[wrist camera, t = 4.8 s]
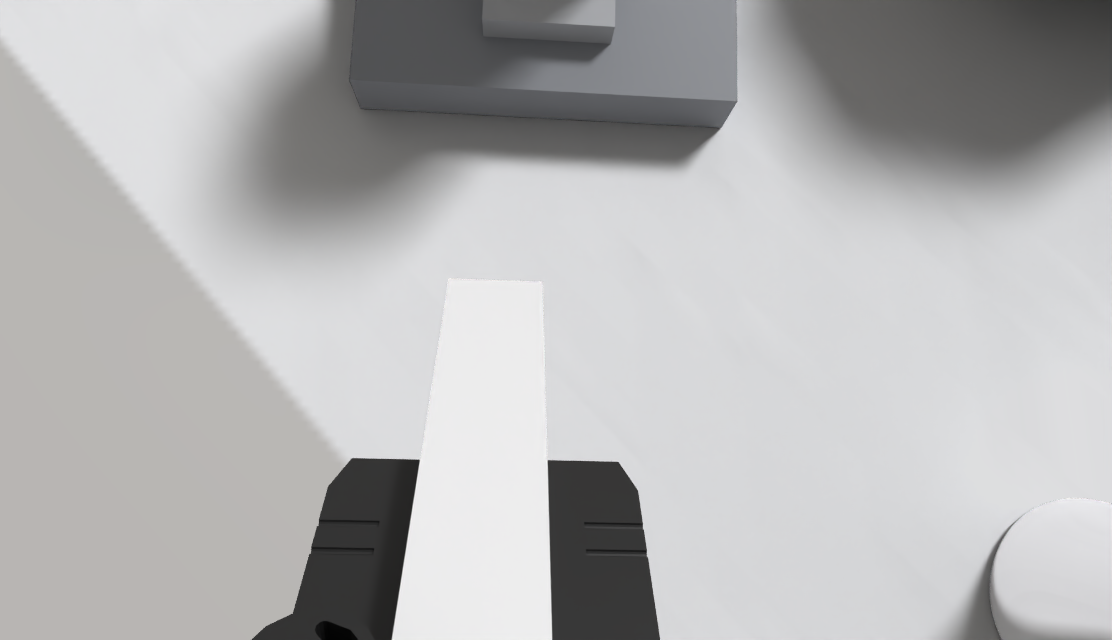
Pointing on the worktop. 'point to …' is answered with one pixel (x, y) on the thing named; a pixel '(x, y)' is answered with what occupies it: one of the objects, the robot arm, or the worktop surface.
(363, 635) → the robot arm
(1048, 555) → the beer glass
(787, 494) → the worktop surface
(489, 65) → the panel
